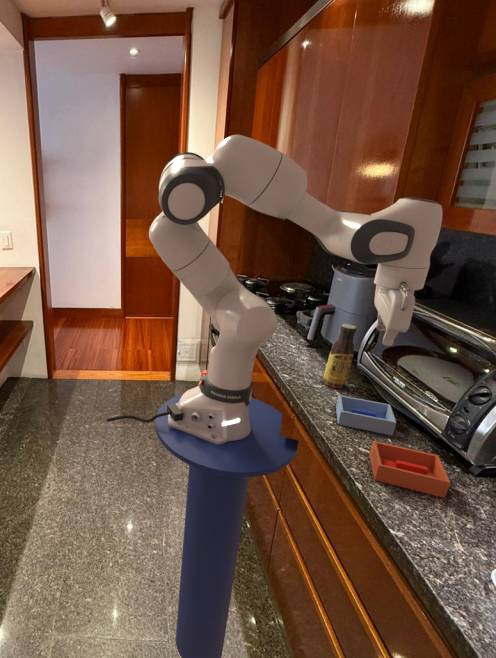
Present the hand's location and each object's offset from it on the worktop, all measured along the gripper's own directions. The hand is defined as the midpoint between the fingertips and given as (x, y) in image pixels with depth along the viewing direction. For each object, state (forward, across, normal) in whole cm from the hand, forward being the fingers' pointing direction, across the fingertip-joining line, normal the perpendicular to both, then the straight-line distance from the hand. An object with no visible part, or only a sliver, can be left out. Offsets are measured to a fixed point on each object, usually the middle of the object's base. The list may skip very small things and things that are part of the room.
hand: (383, 337), depth 88 cm
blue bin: (+27, +8, -2) cm, 28 cm away
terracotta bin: (+27, -12, -8) cm, 31 cm away
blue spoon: (+27, +8, -3) cm, 28 cm away
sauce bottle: (+27, +27, +4) cm, 39 cm away
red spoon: (+27, -12, -8) cm, 30 cm away
